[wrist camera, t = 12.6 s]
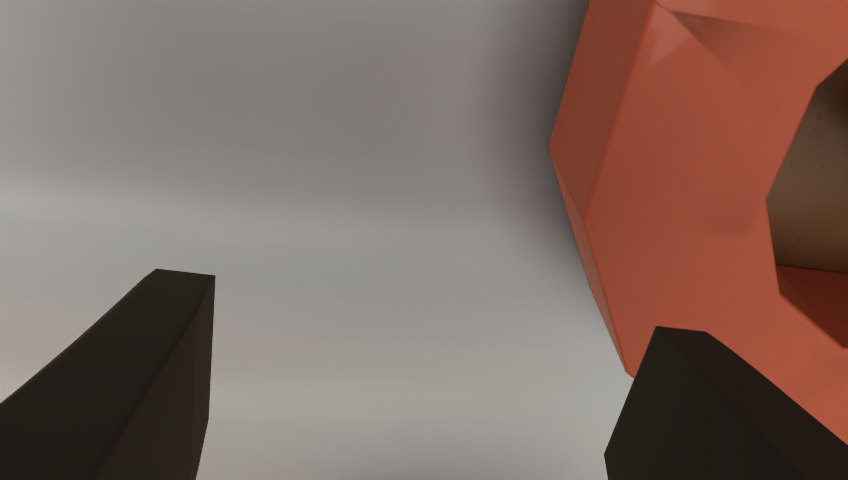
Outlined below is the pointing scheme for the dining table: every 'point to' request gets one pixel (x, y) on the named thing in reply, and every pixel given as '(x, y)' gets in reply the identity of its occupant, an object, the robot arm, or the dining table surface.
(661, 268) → the ring
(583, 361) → the dining table surface
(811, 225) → the stand
